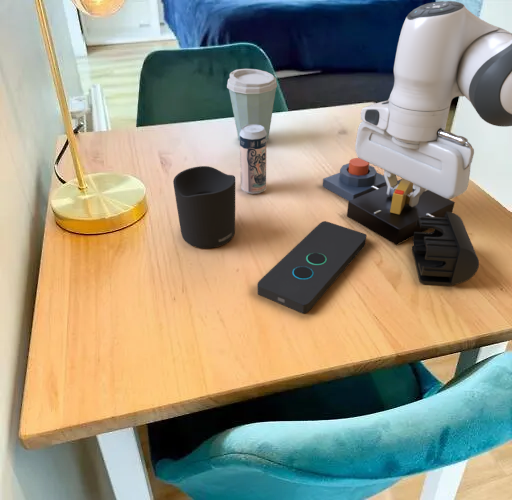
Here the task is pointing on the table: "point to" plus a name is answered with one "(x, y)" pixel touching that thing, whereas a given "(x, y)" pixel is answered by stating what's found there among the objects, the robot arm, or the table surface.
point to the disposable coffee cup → (252, 98)
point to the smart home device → (312, 266)
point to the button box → (353, 183)
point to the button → (358, 167)
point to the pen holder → (205, 206)
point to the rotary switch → (394, 225)
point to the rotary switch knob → (400, 196)
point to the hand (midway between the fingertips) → (401, 199)
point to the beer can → (253, 158)
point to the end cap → (443, 251)
